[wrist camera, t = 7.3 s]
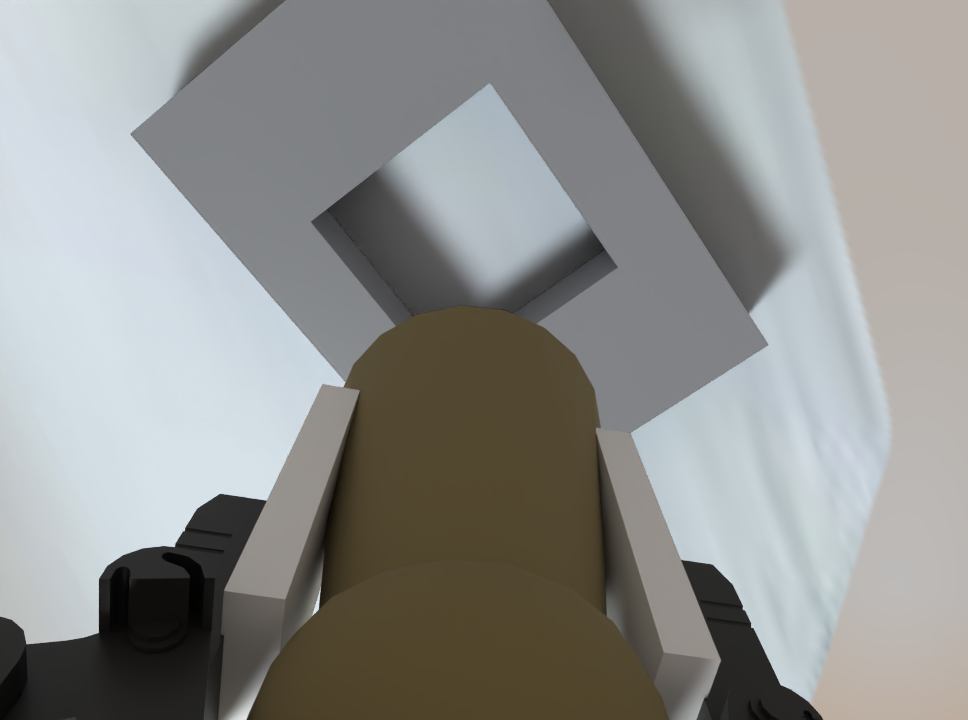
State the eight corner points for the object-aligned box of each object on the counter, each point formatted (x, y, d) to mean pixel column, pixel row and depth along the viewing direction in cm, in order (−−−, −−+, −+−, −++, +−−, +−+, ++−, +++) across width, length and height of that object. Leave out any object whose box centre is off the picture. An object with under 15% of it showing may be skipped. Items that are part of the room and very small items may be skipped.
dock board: (162, 126, 30) (129, 134, 27) (456, -124, 27) (453, -145, 24) (475, 494, 36) (475, 531, 33) (743, 320, 33) (768, 344, 30)
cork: (450, 586, 20) (417, 1174, 9) (280, 413, 18) (10, 899, 8) (652, 450, 18) (876, 960, 8) (489, 249, 16) (506, 568, 6)
